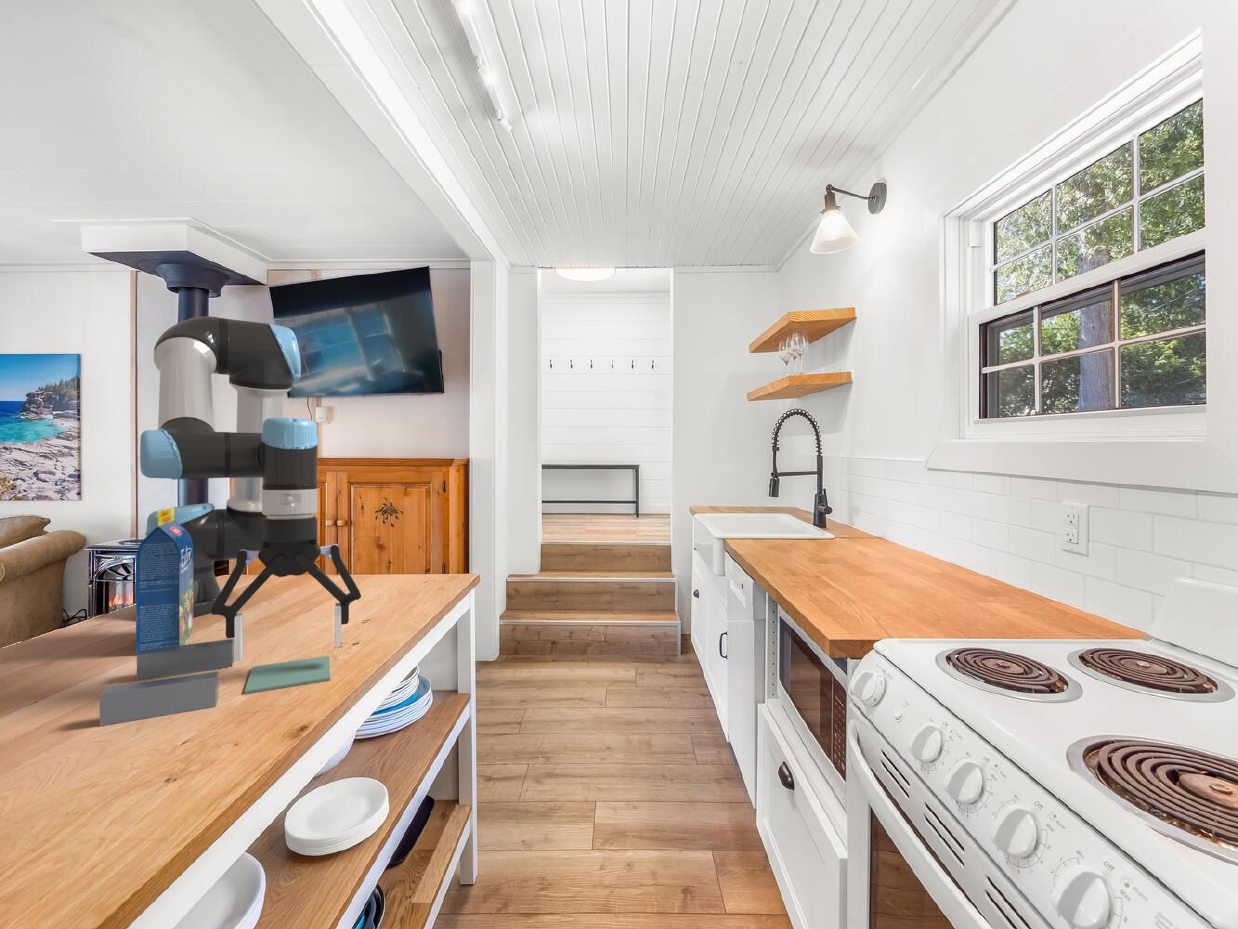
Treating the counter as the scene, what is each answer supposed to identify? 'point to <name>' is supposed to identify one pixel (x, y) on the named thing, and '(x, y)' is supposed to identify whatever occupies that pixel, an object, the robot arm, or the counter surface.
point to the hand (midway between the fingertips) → (290, 651)
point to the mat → (288, 674)
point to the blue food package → (164, 585)
